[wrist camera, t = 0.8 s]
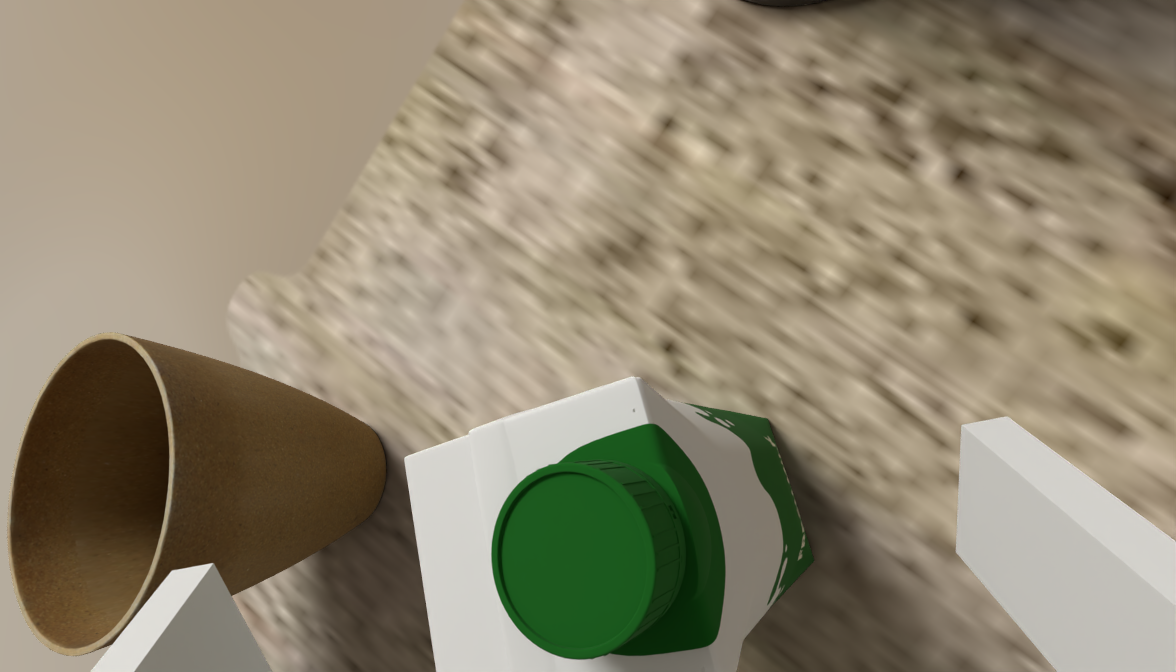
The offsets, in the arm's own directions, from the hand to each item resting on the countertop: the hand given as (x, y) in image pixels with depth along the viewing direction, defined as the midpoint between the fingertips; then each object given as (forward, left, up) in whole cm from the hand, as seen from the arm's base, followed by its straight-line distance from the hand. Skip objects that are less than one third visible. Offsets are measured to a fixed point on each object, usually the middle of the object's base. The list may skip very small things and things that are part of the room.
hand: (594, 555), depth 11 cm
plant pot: (+29, -9, -22) cm, 37 cm away
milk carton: (+4, 0, -22) cm, 22 cm away
